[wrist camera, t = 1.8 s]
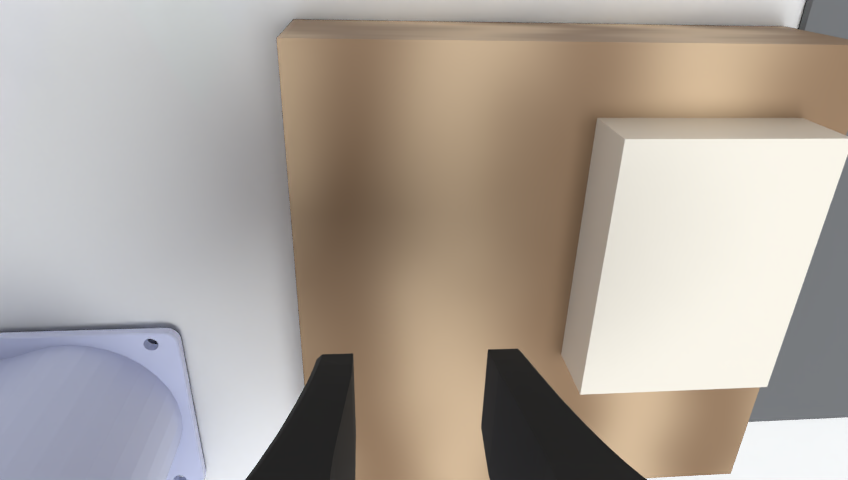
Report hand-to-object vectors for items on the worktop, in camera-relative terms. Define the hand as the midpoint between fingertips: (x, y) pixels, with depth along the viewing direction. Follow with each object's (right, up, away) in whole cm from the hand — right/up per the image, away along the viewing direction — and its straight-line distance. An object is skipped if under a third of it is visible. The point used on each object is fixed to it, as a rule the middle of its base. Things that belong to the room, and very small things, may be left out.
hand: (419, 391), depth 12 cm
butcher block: (+4, +3, +11) cm, 12 cm away
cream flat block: (+8, +3, +6) cm, 11 cm away
